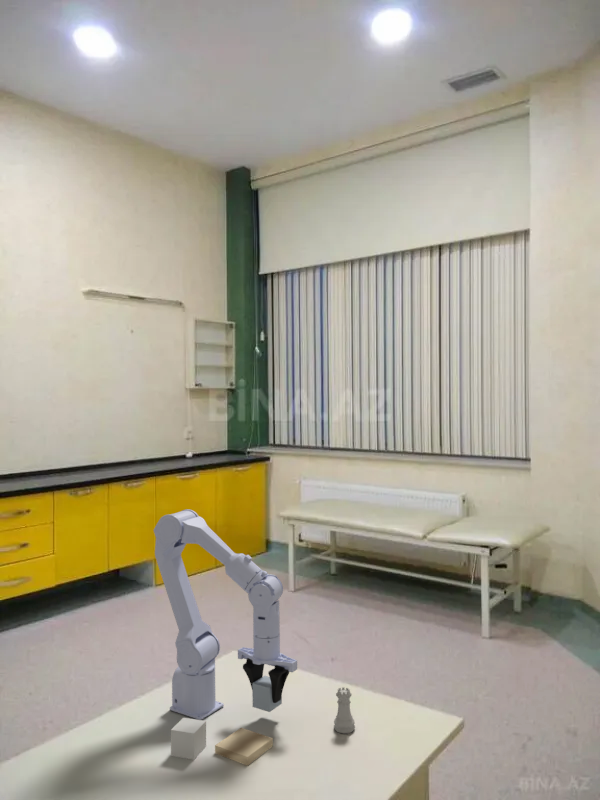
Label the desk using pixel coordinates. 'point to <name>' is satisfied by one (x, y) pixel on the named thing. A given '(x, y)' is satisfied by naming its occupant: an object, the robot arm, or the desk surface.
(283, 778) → the desk surface
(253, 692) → the slate block
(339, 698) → the rook chess piece
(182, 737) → the grey cube
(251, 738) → the maple block
